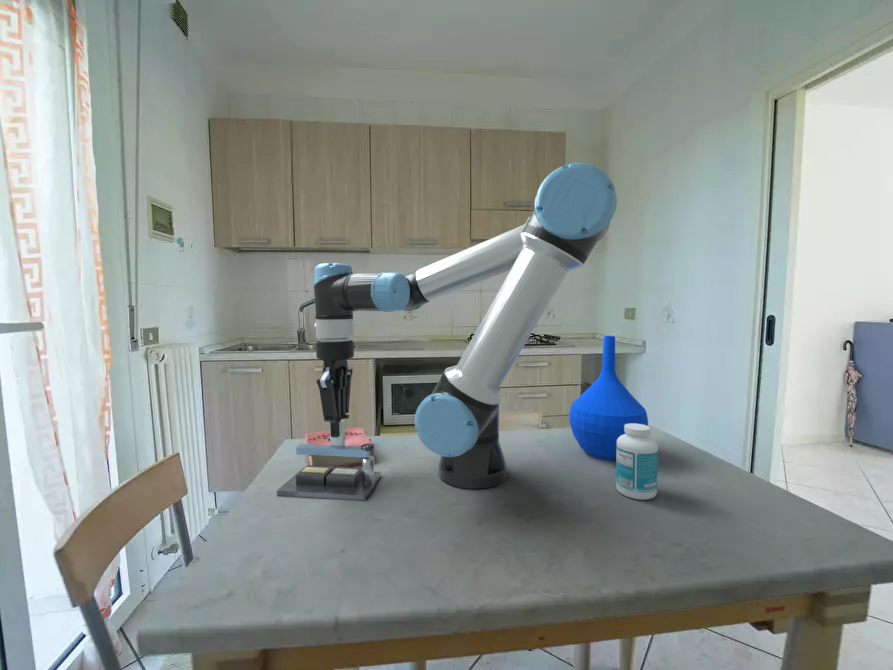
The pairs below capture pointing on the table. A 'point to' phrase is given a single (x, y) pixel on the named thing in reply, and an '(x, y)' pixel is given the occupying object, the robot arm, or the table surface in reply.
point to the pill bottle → (636, 462)
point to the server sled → (333, 482)
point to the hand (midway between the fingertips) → (337, 450)
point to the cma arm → (335, 450)
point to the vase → (604, 410)
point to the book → (351, 439)
